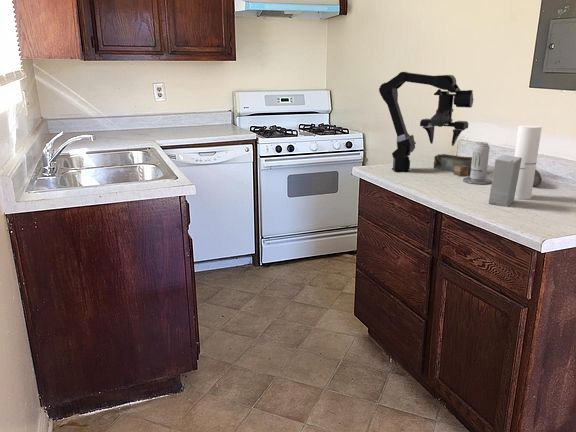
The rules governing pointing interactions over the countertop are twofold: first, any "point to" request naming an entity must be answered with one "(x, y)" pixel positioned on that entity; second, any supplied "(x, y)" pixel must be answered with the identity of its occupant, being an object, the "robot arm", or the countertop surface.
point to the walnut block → (461, 170)
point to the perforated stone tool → (537, 179)
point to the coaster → (485, 182)
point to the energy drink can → (479, 161)
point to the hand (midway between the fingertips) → (441, 144)
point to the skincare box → (504, 180)
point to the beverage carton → (451, 162)
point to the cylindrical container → (527, 159)
